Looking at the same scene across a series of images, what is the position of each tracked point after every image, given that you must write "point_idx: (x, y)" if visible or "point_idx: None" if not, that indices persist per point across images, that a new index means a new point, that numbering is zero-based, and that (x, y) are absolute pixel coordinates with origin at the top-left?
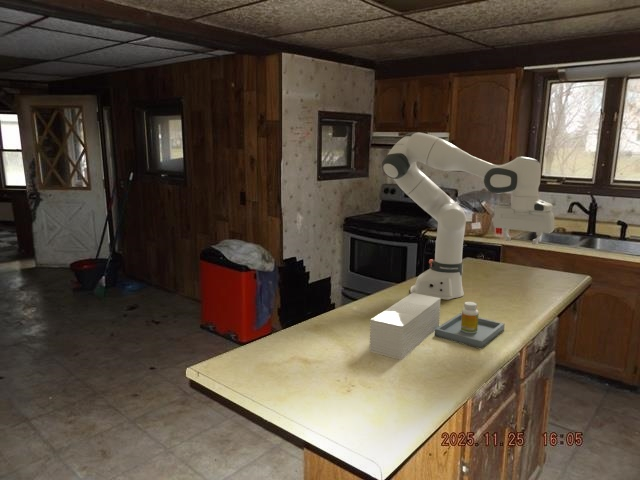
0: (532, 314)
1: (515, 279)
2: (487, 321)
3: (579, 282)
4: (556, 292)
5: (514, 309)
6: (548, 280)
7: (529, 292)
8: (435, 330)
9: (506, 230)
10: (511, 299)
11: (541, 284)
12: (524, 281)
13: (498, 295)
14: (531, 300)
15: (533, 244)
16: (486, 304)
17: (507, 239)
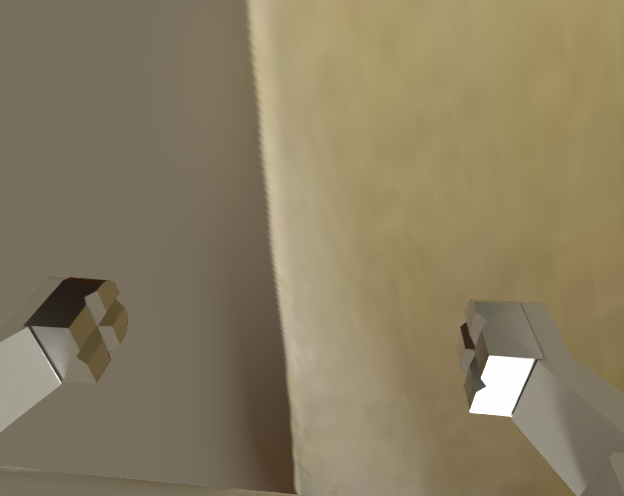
0: (304, 159)
1: (458, 440)
2: None
3: (299, 472)
4: (319, 393)
5: (381, 173)
6: (370, 461)
7: (387, 362)
8: None
9: (617, 486)
10: (423, 274)
11: (377, 431)
12: (429, 435)
13: (478, 289)
14: (358, 298)
15: (98, 280)
16: (505, 163)
17: (507, 314)
